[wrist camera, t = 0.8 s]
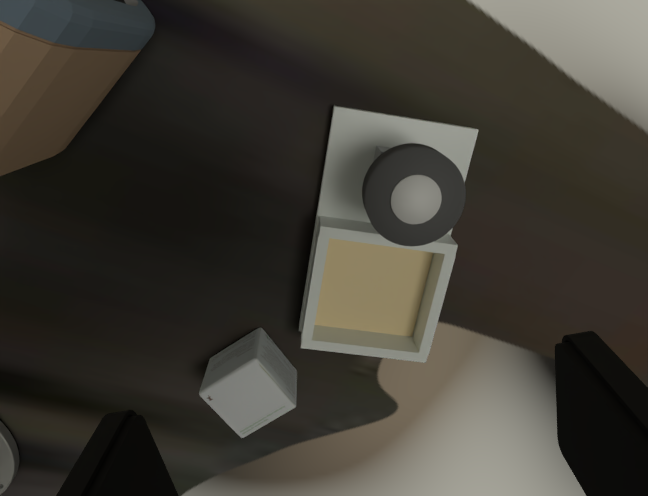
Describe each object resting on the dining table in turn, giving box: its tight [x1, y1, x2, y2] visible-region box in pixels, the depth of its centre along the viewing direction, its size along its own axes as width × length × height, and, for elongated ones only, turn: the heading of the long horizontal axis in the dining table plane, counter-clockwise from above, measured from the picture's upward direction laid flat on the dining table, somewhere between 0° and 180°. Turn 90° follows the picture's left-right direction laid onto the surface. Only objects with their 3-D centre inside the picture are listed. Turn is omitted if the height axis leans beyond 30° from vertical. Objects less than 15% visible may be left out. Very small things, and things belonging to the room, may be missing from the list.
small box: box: [199, 328, 297, 438], centre depth 40 cm, size 6×6×5 cm
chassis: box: [299, 105, 478, 362], centre depth 36 cm, size 18×10×4 cm, turn 171°
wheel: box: [362, 143, 466, 246], centre depth 31 cm, size 6×6×5 cm
